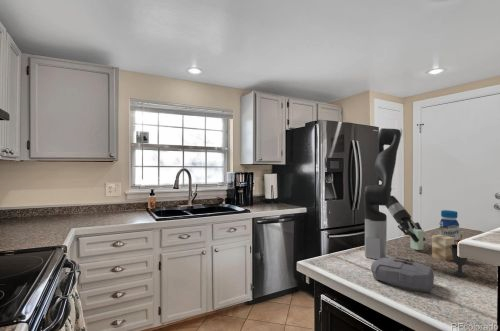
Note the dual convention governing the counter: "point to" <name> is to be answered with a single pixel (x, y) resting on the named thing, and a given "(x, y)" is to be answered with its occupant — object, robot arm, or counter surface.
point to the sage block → (418, 244)
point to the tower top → (442, 241)
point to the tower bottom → (442, 254)
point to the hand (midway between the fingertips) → (420, 240)
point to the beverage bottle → (449, 224)
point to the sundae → (458, 260)
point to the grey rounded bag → (403, 274)
